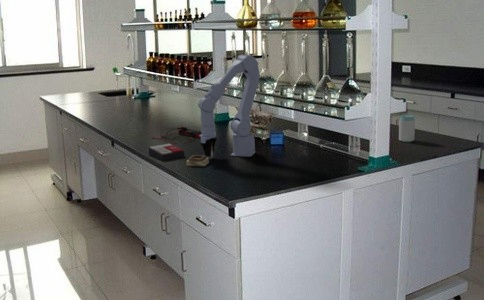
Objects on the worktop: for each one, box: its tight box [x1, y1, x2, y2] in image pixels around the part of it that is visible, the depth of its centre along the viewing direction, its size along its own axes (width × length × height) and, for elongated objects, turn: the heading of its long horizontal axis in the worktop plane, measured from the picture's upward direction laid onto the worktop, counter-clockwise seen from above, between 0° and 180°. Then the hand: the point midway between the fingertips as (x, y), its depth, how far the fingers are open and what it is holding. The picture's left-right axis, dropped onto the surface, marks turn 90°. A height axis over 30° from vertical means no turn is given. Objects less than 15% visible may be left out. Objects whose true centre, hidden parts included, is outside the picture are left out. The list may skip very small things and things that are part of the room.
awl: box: [206, 148, 214, 161], centre depth 246 cm, size 3×3×6 cm
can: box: [398, 114, 416, 143], centre depth 264 cm, size 7×7×12 cm
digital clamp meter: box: [151, 126, 202, 145], centre depth 290 cm, size 23×4×25 cm
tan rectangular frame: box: [185, 154, 210, 167], centre depth 238 cm, size 8×6×3 cm
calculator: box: [148, 143, 185, 162], centre depth 255 cm, size 11×4×15 cm
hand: (209, 155), depth 247 cm, fingers closed on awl, 3 cm apart
